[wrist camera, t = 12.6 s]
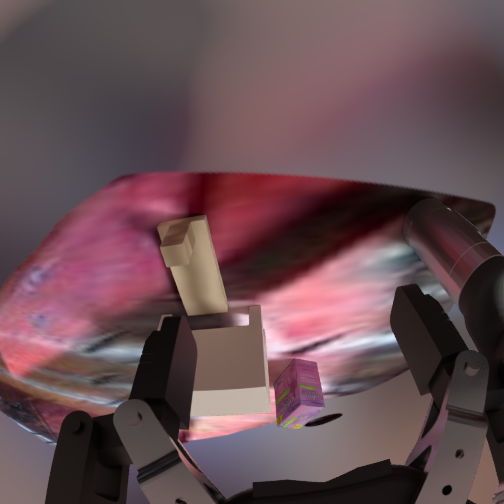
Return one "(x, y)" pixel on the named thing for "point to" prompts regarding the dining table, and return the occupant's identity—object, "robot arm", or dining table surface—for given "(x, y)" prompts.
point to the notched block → (231, 369)
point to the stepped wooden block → (193, 264)
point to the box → (298, 394)
